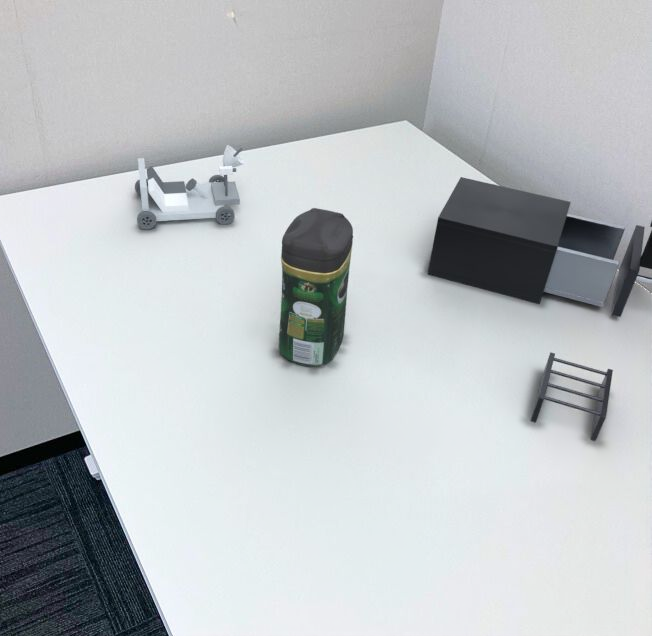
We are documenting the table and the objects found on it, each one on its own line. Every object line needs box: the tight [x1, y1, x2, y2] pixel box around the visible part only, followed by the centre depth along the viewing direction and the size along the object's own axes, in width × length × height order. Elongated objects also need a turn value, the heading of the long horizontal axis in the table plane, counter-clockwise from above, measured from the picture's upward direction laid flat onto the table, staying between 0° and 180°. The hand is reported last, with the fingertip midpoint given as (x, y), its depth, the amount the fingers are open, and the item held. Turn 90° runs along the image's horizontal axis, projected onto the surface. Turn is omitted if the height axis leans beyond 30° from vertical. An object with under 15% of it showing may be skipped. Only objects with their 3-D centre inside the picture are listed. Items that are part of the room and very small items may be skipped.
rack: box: [530, 351, 614, 442], centre depth 91 cm, size 8×9×4 cm
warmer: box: [427, 176, 571, 305], centre depth 112 cm, size 17×14×10 cm
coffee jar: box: [278, 207, 354, 367], centre depth 93 cm, size 10×8×19 cm
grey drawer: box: [543, 212, 652, 318], centre depth 108 cm, size 20×13×8 cm, turn 67°
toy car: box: [134, 144, 245, 230], centre depth 121 cm, size 18×10×12 cm
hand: (649, 265), depth 105 cm, fingers closed
